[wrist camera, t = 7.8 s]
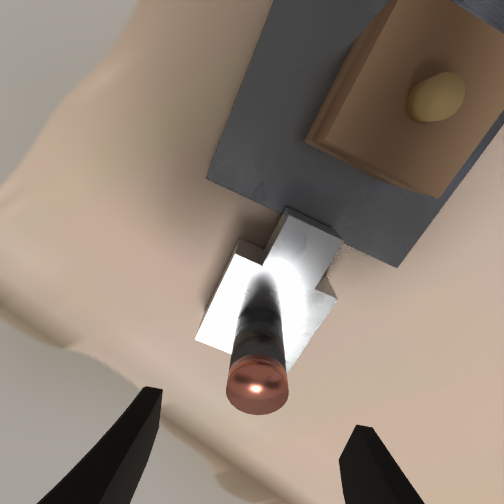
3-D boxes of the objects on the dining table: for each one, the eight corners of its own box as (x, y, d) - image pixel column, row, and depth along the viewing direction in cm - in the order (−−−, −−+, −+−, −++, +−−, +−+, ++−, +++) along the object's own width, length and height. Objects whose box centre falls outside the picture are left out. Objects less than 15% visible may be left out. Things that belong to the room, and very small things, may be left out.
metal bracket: (549, 44, 12) (639, 12, 9) (391, 262, 17) (418, 288, 14) (316, -103, 11) (336, -196, 8) (208, 176, 15) (194, 184, 12)
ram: (354, 236, 16) (415, 298, 9) (283, 347, 19) (292, 450, 13) (260, 192, 15) (258, 226, 9) (203, 314, 18) (170, 406, 12)
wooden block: (438, 90, 12) (570, 48, 7) (380, 181, 14) (453, 203, 9) (353, 41, 12) (428, -45, 7) (303, 141, 14) (330, 139, 8)
